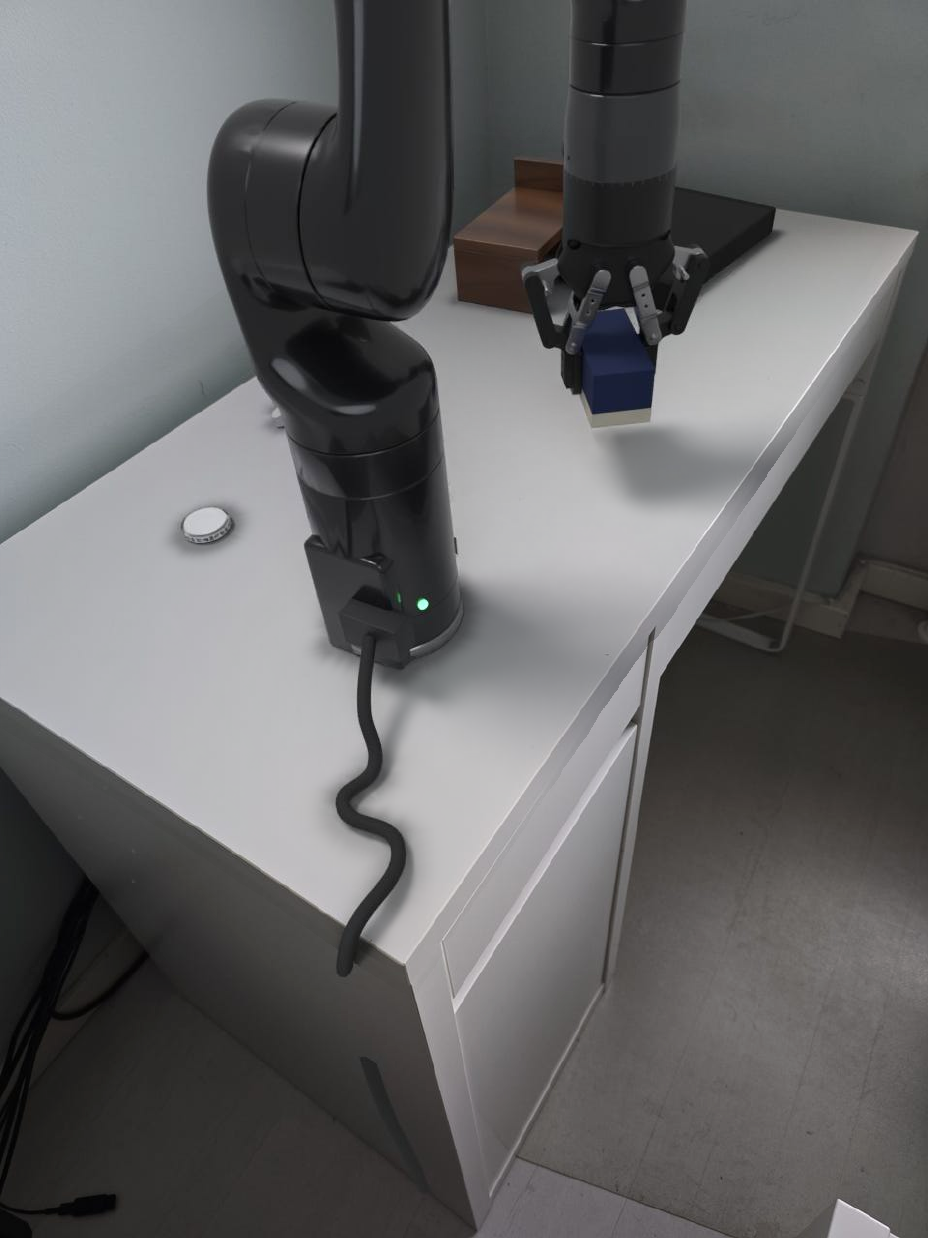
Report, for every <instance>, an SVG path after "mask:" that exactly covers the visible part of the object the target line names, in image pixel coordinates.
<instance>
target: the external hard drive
mask: <svg viewBox="0 0 928 1238" xmlns="http://www.w3.org/2000/svg"><path fill="white" fill-rule="evenodd" d="M776 213H777V208H776V206H772V205H766V204H763V203H757V202H752V201H748V200H743V199H738V198H734V197H728V196H725V195H719V194H714V193H710V192H705V191H701V190H695V189H691V188H686V187H681V186H676V185H675V190H674V200H673V211H672V221H671V229H670V237H671V241H672V243H673V245H674V246H679V247H684V248H687V247H688V246H690V245H692V244H697V245H698V246H699V247H700V248H701V249H702V250H703V251H704V253H705V254H706V256H707V258H708V259H709V261H710V268H709V270H708V273H707V275H706V278H705V280H704V283H703V285H704V284H706V283H707V282H708V281H710V280H711V279H712V278H713V277H715V276H716V275H718V274H719V273H720V272H721V271H723V270H724V269H725V268H726V267H728V266H729V265H731V264H732V263H734V262H735V261H736V260H737V259H738V258H740V257H741V256H743V255H744V254H745V253H747V252H748V251H749V250H750V249H752V248H753V247H754V246H755V245H757V244H758V243H760V242H761V241H762V240H763V239H765V238H767V236H768V235H770V234H771V233H772V232H773V229H774V224H775V217H776ZM672 268H673V263H671V265H670V266H669V267H668V268H667V270H666V271H665V272H664V274H663V275H662V276H661V278H660V279H659V280H658V282H657V283H656V284H655V285H654V287H653V288H652V289H651V293H652V297H653V301H654V305H655V308H656V310H658V311H661V312H663V309H664V307H665V304H666V301H667V298H668V296H669V293H670V290H671V288H672V285H673V282H674V280H675V277H676V276H675V275H674V273H673V270H672ZM558 280H559V282H562V283H564V284H565V283H566V281H565V280H564V279H563V278H562V276H561V275H559V276H558ZM566 284H567V283H566Z"/></svg>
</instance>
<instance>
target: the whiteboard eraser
mask: <svg viewBox="0 0 928 1238" xmlns="http://www.w3.org/2000/svg"><path fill="white" fill-rule="evenodd" d="M638 334H639V333H638V332H637V330H636V328H635V327H634V325H633V322H632V320H631V319H630V316H629V315H628V312H627V310H626V308H623V307H621V308H614V309H606V310H602V311H597V313H596V316H595V319H594V321H593V324H592V326H591V328H589V329H588V331H587V333H586V336H585V339H584V341H583V344H582V347H581V350H582V353H583V367H582V393H581V394H578V396H579V399H580V401H581V405H582V407H583V411H584V413H585V415H586V418H587V420H588V423H589V426H590V428H591V429H600V428H607V427H616V426H617V427H618V426H625V425H634V424H644V423H651V419H652V411H653V410H652V409H653V408H652V407H653V396H654V388H655V387H654V386H655V377H656V374H655V368H654V366H653V364H652V362H651V360H650V358H649V356H648V354H647V352H646V350H645V348H644V346H643V344H642V342H641V340H640V338H639V336H638Z"/></svg>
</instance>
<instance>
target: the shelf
mask: <svg viewBox="0 0 928 1238" xmlns="http://www.w3.org/2000/svg"><path fill="white" fill-rule="evenodd" d="M513 175H514V187H513V188H511V189H510V190H509V191H508V192H506V193H505V194H504V195H503V196H501V197H500V198H499V199H497V201H495V202H494V203H493V204H492V205H491V206H489V207H488V208H487V209H486V210H485V211H483V212H482V213H481V214H479V215H478V216H477V217H476V218H475V219H473V220H472V221H470V223H468V224H467V225H466V226H465V227H464V228H462V229H461V230H460V231H459V232H457V233H456V234H454V235H453V237H452V242H453V243H452V244H453V254H454V266H455V278H456V279H455V280H456V289H457V292H456V293H457V300H458V301H463V302H468V303H473V304H479V305H483V306H489V307H494V308H501V309H506V310H510V311H511V310H512V311H517V312H521V313H528V314H533V313H532V310H531V307H530V303H529V300H528V297H527V294H526V290H525V287H524V284H523V281H522V277H521V274H520V267H521V265H522V264H523V263H525V262H532V263H534V264H535V265H538V264H540V263H543V262H544V258H543V257H545V255H546V254H547V253H549V252H550V253H556V252H557V250H558V248H559V246H560V244H561V241H562V232H563V159H557V158H547V157H537V156H528V155H519V154H518V155H516V156H515V157H514V158H513Z"/></svg>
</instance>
